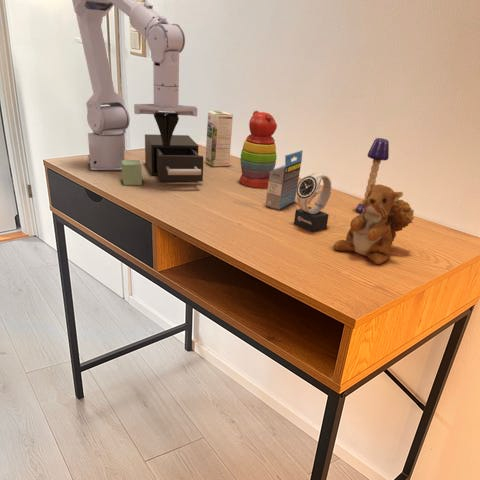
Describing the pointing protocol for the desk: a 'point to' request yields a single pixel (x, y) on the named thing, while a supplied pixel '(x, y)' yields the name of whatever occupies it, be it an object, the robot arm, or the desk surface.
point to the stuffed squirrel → (377, 224)
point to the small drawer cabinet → (156, 142)
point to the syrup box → (218, 138)
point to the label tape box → (284, 182)
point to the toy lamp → (375, 163)
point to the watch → (306, 192)
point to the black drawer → (178, 164)
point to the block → (131, 172)
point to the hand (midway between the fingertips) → (166, 146)
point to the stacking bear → (259, 151)
